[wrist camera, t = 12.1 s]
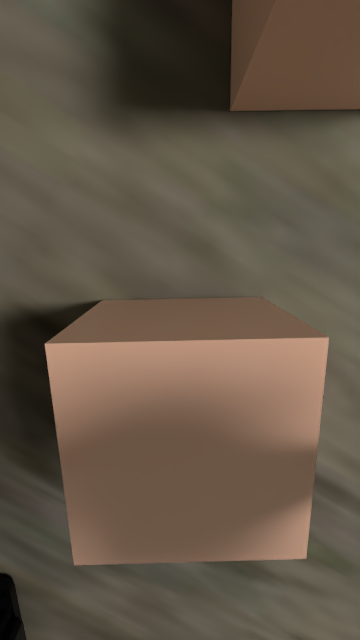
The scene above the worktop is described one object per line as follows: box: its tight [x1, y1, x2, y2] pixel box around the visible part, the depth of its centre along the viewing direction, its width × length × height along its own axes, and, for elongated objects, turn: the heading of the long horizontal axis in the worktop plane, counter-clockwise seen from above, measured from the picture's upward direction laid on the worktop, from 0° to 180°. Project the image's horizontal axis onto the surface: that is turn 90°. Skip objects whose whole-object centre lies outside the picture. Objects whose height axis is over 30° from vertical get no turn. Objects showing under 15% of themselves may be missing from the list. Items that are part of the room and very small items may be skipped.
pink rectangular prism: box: [45, 297, 329, 565], centre depth 10 cm, size 6×6×6 cm
